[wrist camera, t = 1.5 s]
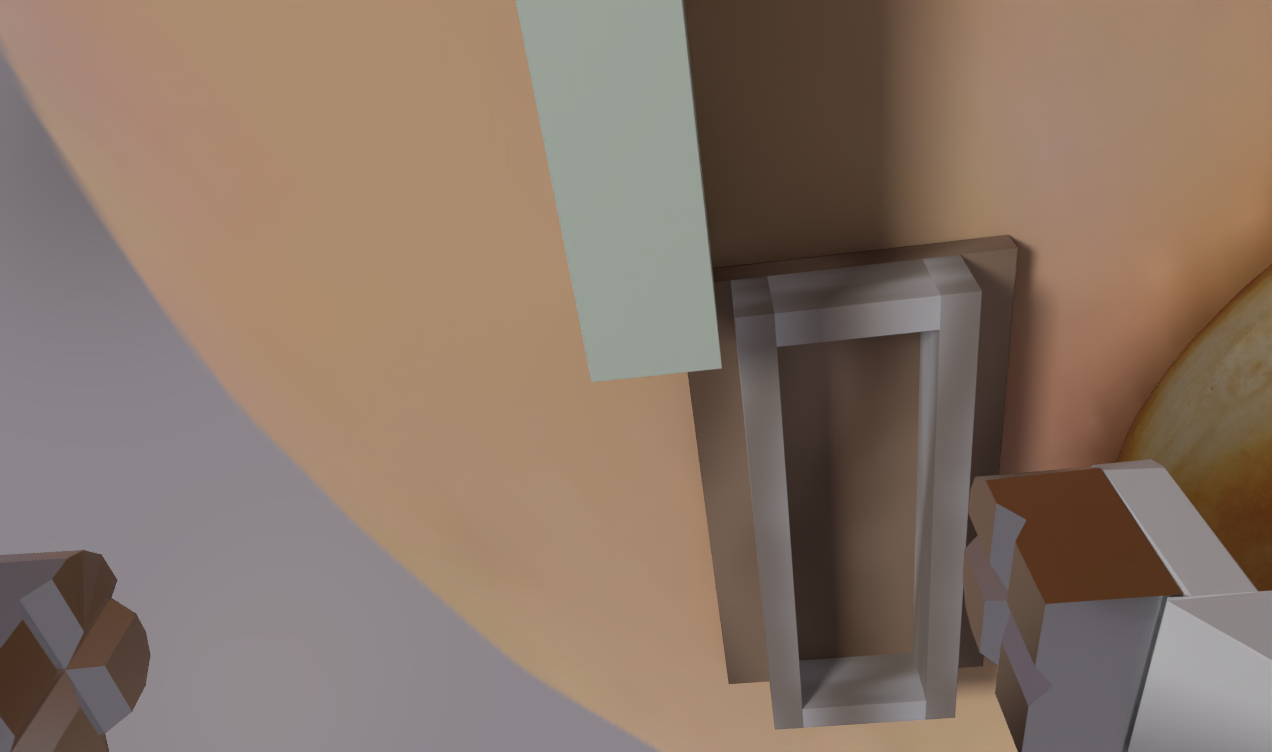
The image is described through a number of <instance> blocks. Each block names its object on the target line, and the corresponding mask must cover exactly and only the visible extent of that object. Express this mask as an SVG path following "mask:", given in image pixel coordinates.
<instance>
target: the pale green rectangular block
mask: <svg viewBox="0 0 1272 752" xmlns="http://www.w3.org/2000/svg"><path fill="white" fill-rule="evenodd" d="M516 4H517V10H518V15H519V20H520V25H521V30H522V35H523V40H524V45H525V50H526V55H527V60H528V65H529V70H530V75H531V80H532V85H533V90H534V95H535V100H536V105H537V110H538V115H539V120H540V125H541V130H542V135H543V140H544V146H545V151H546V156H547V161H548V166H549V171H550V176H551V181H552V186H553V191H554V196H555V201H556V206H557V211H558V216H559V221H560V226H561V231H562V236H563V241H564V246H565V251H566V256H567V261H568V266H569V271H570V276H571V282H572V287H573V292H574V297H575V302H576V307H577V312H578V317H579V322H580V327H581V332H582V337H583V342H584V347H585V352H586V357H587V362H588V367H589V372H590V377H591V382H596V381H606V380H616V379H625V378H635V377H644V376H654V375H663V374H673V373H683V372H692V371H702V370H711V369H721V368H722V365H721V354H720V344H719V333H718V322H717V312H716V301H715V291H714V280H713V270H712V259H711V248H710V238H709V229H708V220H707V210H706V201H705V192H704V183H703V173H702V164H701V155H700V145H699V136H698V127H697V118H696V108H695V99H694V90H693V80H692V71H691V62H690V52H689V43H688V34H687V25H686V15H685V6H684V0H516Z"/></svg>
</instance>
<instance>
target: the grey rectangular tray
mask: <svg viewBox="0 0 1272 752" xmlns="http://www.w3.org/2000/svg"><path fill="white" fill-rule="evenodd" d="M1017 251H1018V248H1017V246H1016V245H1015V244H1014V242H1013V241H1012V239H1011V238H1010V237H1009V235H1004V236H995V237H986V238H978V239H969V240H960V241H951V242H943V243H934V244H925V245H916V246H908V247H899V248H890V249H881V250H873V251H864V252H855V253H846V254H837V255H829V256H820V257H811V258H802V259H794V260H785V261H776V262H767V263H759V264H750V265H741V266H732V267H724V268H715V269H712V270H713V280H714V291H715V301H716V312H717V322H718V333H719V344H720V354H721V365H722V368H721V369H711V370H702V371H692V372H688V378H689V386H690V394H691V401H692V409H693V416H694V424H695V431H696V439H697V447H698V454H699V462H700V469H701V477H702V484H703V492H704V500H705V507H706V515H707V522H708V530H709V537H710V545H711V553H712V560H713V568H714V575H715V583H716V590H717V598H718V606H719V613H720V621H721V628H722V636H723V643H724V651H725V659H726V666H727V674H728V681H729V684H737V683H751V682H765V681H770V690H771V699H772V708H773V716H774V725H775V730H776V729H791V728H806V727H821V726H836V725H851V724H866V723H881V722H896V721H911V720H926V719H941V718H955V709H956V693H957V678H958V668H961V667H975V666H983V657H984V655H983V654H981V653H980V652H979V649H978V646H977V644H976V641H975V638H974V635H973V633H972V630H971V626H970V622H969V618H968V614H967V610H966V605H965V595H964V585H963V564H964V549H965V548H966V547H967V546H968V545H969V544H970V543H971V542H972V541H973V540H974V539H975V538H976V537H977V536H978V535H977V532H976V530H975V528H974V525H973V523H972V521H971V518H970V516H969V514H968V506H969V497H970V489H971V487H972V484H973V482H974V479H975V477H980V476H991V475H999V466H1000V454H1001V442H1002V430H1003V418H1004V406H1005V394H1006V382H1007V370H1008V358H1009V347H1010V335H1011V323H1012V311H1013V299H1014V287H1015V275H1016V263H1017Z"/></svg>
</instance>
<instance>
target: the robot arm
mask: <svg viewBox="0 0 1272 752" xmlns="http://www.w3.org/2000/svg"><path fill="white" fill-rule="evenodd" d="M968 514H969V516H970V518H971V521H972V523H973V525H974V528H975V530H976V532H977V535H978V536H977V537H976V538H975V539H974V540H973V541H972V542H971V543H970V544H969V545H968V546H967V547H966V548H965V549H964V564H963V585H964V595H965V605H966V610H967V614H968V618H969V622H970V626H971V630H972V633H973V635H974V638H975V641H976V644H977V646H978V649H979V652H980V653H981V654H983V655H984V656H985V657H987V658H988V659H989V660H991V661H992V662H993V663H995V664H996V665H997V666H998V674H997V683H996V691H995V694H996V697H997V699H998V702H999V704H1000V707H1001V710H1002V712H1003V715H1004V717H1005V720H1006V722H1007V725H1008V728H1009V730H1010V733H1011V735H1012V738H1013V740H1014V743H1015V746H1016V748H1017V751H1018V752H1272V591H1258V590H1257V588H1256V587H1255V586H1254V584H1253V583H1252V582H1251V580H1250V579H1249V578H1248V577H1247V575H1246V574H1245V573H1244V571H1243V570H1242V569H1241V567H1240V566H1239V565H1238V563H1237V562H1236V561H1235V559H1234V558H1233V557H1232V556H1231V554H1230V553H1229V552H1228V550H1227V549H1226V548H1225V546H1224V545H1223V544H1222V542H1221V541H1220V540H1219V538H1218V537H1217V536H1216V535H1215V533H1214V532H1213V531H1212V529H1211V528H1210V527H1209V525H1208V524H1207V523H1206V521H1205V520H1204V519H1203V518H1202V516H1201V515H1200V514H1199V512H1198V511H1197V510H1196V508H1195V507H1194V506H1193V504H1192V503H1191V502H1190V500H1189V499H1188V498H1187V497H1186V495H1185V494H1184V493H1183V491H1182V490H1181V489H1180V487H1179V486H1178V485H1177V483H1176V482H1175V481H1174V479H1173V478H1172V477H1171V476H1170V474H1169V473H1168V472H1167V470H1166V469H1165V468H1164V466H1163V465H1161V464H1159V463H1157V462H1156V461H1154V460H1152V459H1147V460H1138V461H1128V462H1118V463H1109V464H1099V465H1092V466H1091V467H1081V468H1070V469H1059V470H1047V471H1036V472H1025V473H1014V474H1002V475H991V476H980V477H975V479H974V482H973V484H972V487H971V489H970V497H969V506H968ZM116 583H117V579H116V577H115V575H114V574H113V572H112V571H111V569H110V568H109V566H108V564H107V563H106V561H105V560H104V558H103V556H102V555H101V554H97V553H93V552H89V551H85V550H78V551H62V552H44V553H27V554H10V555H0V752H109V748H108V744H107V740H106V735H105V733H106V732H107V731H108V730H110V729H111V728H112V727H113V726H115V725H116V724H117V723H118V722H120V721H121V720H122V719H123V718H125V717H126V716H127V715H128V714H130V713H131V712H132V711H133V709H134V707H135V705H136V703H137V701H138V699H139V697H140V695H141V693H142V691H143V689H144V687H145V686H146V679H147V672H148V666H149V660H150V650H149V645H148V640H147V635H146V631H145V629H144V628H143V626H142V624H141V622H140V620H139V618H138V616H137V614H136V613H134V612H132V611H131V610H130V609H128V608H127V607H125V606H123V605H122V604H120V603H119V602H117V601H116V600H114V599H112V598H111V597H112V594H113V592H114V589H115V586H116Z"/></svg>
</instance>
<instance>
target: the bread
mask: <svg viewBox="0 0 1272 752" xmlns="http://www.w3.org/2000/svg"><path fill="white" fill-rule="evenodd" d="M1147 459H1152V460H1154V461H1156V462H1157V463H1159V464H1161V465H1163V466H1164V468H1165V469H1166V470H1167V472H1168V473H1169V474H1170V476H1171V477H1172V478H1173V479H1174V481H1175V482H1176V483H1177V485H1178V486H1179V487H1180V489H1181V490H1182V491H1183V493H1184V494H1185V495H1186V497H1187V498H1188V499H1189V500H1190V502H1191V503H1192V504H1193V506H1194V507H1195V508H1196V510H1197V511H1198V512H1199V514H1200V515H1201V516H1202V518H1203V519H1204V520H1205V521H1206V523H1207V524H1208V525H1209V527H1210V528H1211V529H1212V531H1213V532H1214V533H1215V535H1216V536H1217V537H1218V538H1219V540H1220V541H1221V542H1222V544H1223V545H1224V546H1225V548H1226V549H1227V550H1228V552H1229V553H1230V554H1231V556H1232V557H1233V558H1234V559H1235V561H1236V562H1237V563H1238V565H1239V566H1240V567H1241V569H1242V570H1243V571H1244V573H1245V574H1246V575H1247V577H1248V578H1249V579H1250V580H1251V582H1252V583H1253V584H1254V586H1255V587H1256V588H1257V590H1258V591H1272V265H1271V266H1269V267H1268V268H1267V269H1266V270H1265V271H1263V272H1262V273H1261V274H1260V275H1258V276H1257V277H1256V278H1255V279H1254V280H1252V281H1251V282H1250V283H1249V284H1247V285H1246V286H1245V287H1244V288H1243V289H1242V290H1241V291H1240V292H1239V293H1238V294H1237V295H1236V296H1235V297H1234V298H1233V299H1232V300H1231V301H1230V302H1229V303H1228V304H1227V305H1226V306H1225V307H1224V308H1223V309H1222V310H1221V311H1220V312H1219V313H1218V314H1217V315H1216V316H1215V317H1214V318H1213V319H1212V320H1211V321H1210V322H1209V323H1208V325H1207V326H1206V327H1205V328H1204V329H1203V330H1202V331H1201V332H1200V333H1199V334H1198V335H1197V336H1196V337H1195V338H1194V339H1193V340H1192V341H1191V342H1190V344H1189V345H1188V346H1187V347H1186V348H1185V350H1184V351H1183V352H1182V353H1181V354H1180V356H1179V357H1178V358H1177V359H1176V360H1175V362H1174V363H1173V364H1172V365H1171V366H1170V368H1169V369H1168V370H1167V372H1166V373H1165V375H1164V376H1163V377H1162V379H1161V380H1160V382H1159V383H1158V385H1157V386H1156V388H1155V389H1154V390H1153V392H1152V393H1151V395H1150V396H1149V398H1148V399H1147V400H1146V402H1145V403H1144V405H1143V406H1142V408H1141V409H1140V411H1139V412H1138V413H1137V415H1136V417H1135V419H1134V421H1133V424H1132V426H1131V428H1130V430H1129V432H1128V434H1127V436H1126V438H1125V441H1124V444H1123V446H1122V449H1121V452H1120V455H1119V457H1118V460H1117V463H1118V462H1128V461H1138V460H1147Z"/></svg>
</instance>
